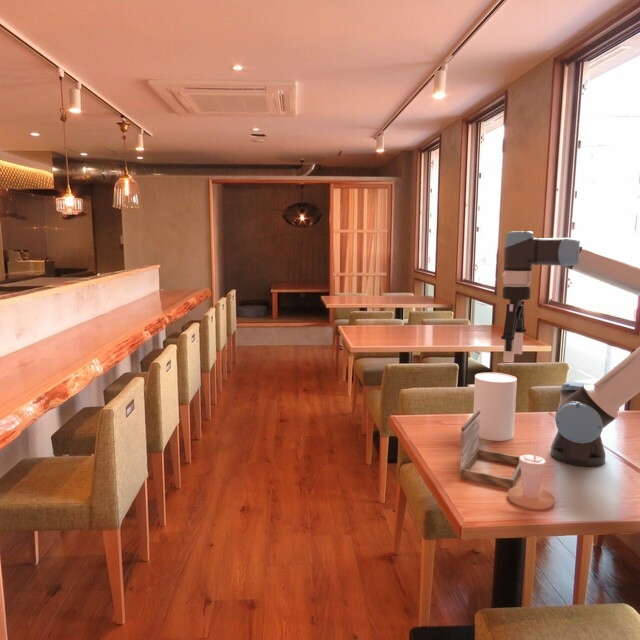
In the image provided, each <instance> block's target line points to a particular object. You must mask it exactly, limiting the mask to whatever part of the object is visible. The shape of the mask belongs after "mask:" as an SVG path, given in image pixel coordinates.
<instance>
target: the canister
mask: <svg viewBox="0 0 640 640" xmlns="http://www.w3.org/2000/svg"><path fill="white" fill-rule="evenodd" d="M517 379H518V378H517V377H516V376H514V375H510V374H506V373H501V372H480V373H476V374H475V375H474V390H473V391H474V393H473V414H472V415H474V414H475V412H476V411H477V410H480V419H479V439H483V440H487V441H494V442H506V441H509V440H512V439H513V438H514V437H515V422H516V421H515V418H516V402H517V401H516V400H517V382H518V381H517Z"/></svg>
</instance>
